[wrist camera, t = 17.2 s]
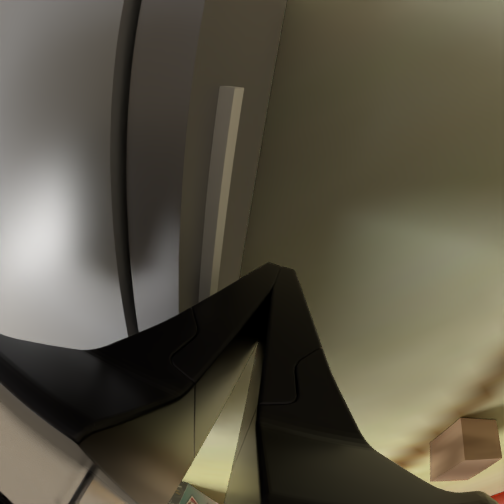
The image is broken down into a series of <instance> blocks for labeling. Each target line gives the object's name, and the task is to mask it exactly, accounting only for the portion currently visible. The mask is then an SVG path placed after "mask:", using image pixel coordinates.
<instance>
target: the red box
mask: <svg viewBox="0 0 504 504" xmlns="http://www.w3.org/2000/svg"><path fill="white" fill-rule="evenodd" d="M491 498H493V499H494V500H496V501H497V502H498V503H499V504H504V492H502V493H499V494H496V495H494V496H491Z"/></svg>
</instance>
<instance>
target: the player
mask: <svg viewBox="0 0 504 504" xmlns="http://www.w3.org/2000/svg"><path fill="white" fill-rule="evenodd" d="M141 2H142V0H0V334H3V335H5V336H9V337H12V338H16V339H21V340H26V341H31V342H36V343H42V344H47V345H53V346H59V347H65V348H72V349H79V350H89V349H96V348H100V347H103V346H106V345H109V344H111V343H114V342H116V341H119V340H121V339H124V338H126V337H129V336H131V335H134V334H136V333H139V330H138V324H137V316H136V309H135V301H134V293H133V284H132V274H131V263H130V251H129V236H128V217H127V182H126V159H127V124H128V106H129V92H130V80H131V70H132V61H133V53H134V45H135V38H136V31H137V25H138V18H139V13H140V7H141Z"/></svg>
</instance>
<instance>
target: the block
mask: <svg viewBox="0 0 504 504" xmlns="http://www.w3.org/2000/svg"><path fill="white" fill-rule="evenodd" d="M501 458H502V454H501V447H500V440H499V434H498V428H497V423H496V420H491V419H471V418H459V419H458V420H457V421H456V422H455V423H454V424H453V425H451V426H450V427H449V428H448V429H447V430H445V431H444V432H443V433H442V434H440V435H439V436H438V437H437V438H435V439H434V440H433V441H432V442H430V481H457V480H468V479H470V478H472V477H473V476H475V475H477V474H478V473H480V472H482V471H483V470H485V469H486V468H488V467H489V466H491V465H492V464H494V463H495V462H497V461H498V460H500V459H501Z"/></svg>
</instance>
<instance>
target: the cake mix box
mask: <svg viewBox="0 0 504 504" xmlns="http://www.w3.org/2000/svg"><path fill="white" fill-rule="evenodd" d="M168 504H218V503H217V502H215V501H214V500H212V499H211V498H209V497H208V496H206V495H205V494H203V493H202V492H200V491H199V490H197V489H196V488H194V487H193V486H191V485H190V484H189V483H185V482H181V483H180V484H179V486H178V488H177V489H176V491H175V493H174V494H173V496H172V498H171V499H170V501H169V502H168Z"/></svg>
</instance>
